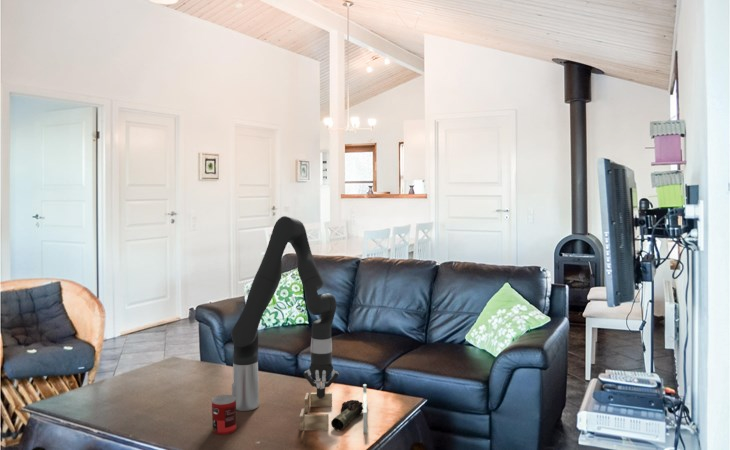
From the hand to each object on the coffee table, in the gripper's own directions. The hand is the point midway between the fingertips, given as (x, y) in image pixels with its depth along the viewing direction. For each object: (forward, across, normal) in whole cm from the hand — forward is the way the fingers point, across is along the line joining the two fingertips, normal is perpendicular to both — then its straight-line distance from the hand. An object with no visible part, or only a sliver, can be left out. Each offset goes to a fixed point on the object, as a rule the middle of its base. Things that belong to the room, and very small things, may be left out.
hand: (320, 397), depth 196 cm
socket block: (+7, -2, +1) cm, 8 cm away
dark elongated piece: (+8, +10, -2) cm, 12 cm away
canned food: (+8, -32, -10) cm, 34 cm away
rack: (+7, +16, +2) cm, 17 cm away
